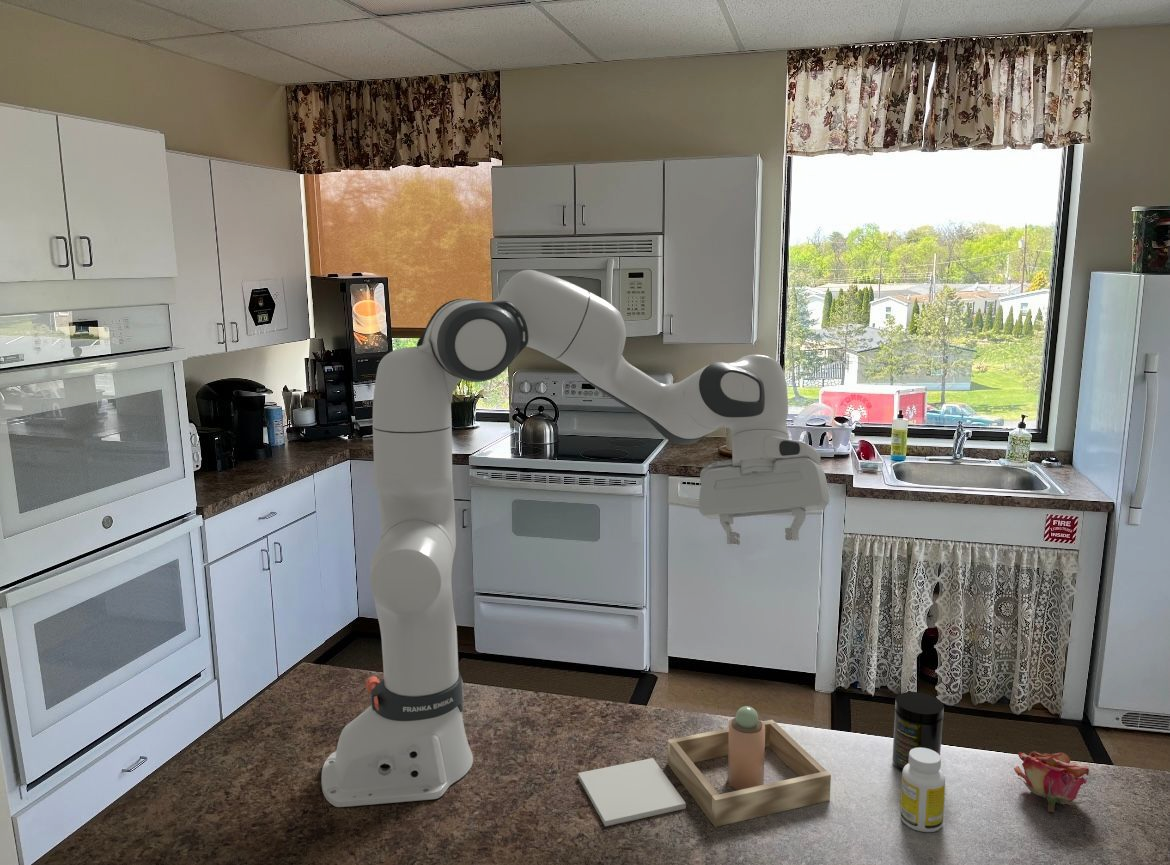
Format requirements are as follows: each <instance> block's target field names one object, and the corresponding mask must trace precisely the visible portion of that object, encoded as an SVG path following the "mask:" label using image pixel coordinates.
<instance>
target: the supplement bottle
mask: <svg viewBox="0 0 1170 865" xmlns="http://www.w3.org/2000/svg"><path fill="white" fill-rule="evenodd" d="M941 763H942V758H941V754H940V755H939V754H938V753H937V752H935V751H933V750H931V749H927V748H913V749H911V750H910V752H909V763H908V764H907V765H905V767H904V768H903V772H902V774H901V776H902V777H901V793H900V795H901V796H900V811H899V812H900V813H899V814H900V819H901V821H902V823H904V824H905V825H906V826H907V827H909V828H910V829H912V830H914V831H918V832H923V833H933V832H937V831H939V830H940V829H941V828H942V826H943V822H944V810H945V808H944V807H945V795H946V794H945V793H946V792H945V791H946V777H945V774H944V772H943V771H942V769H941V766H942V764H941Z"/></svg>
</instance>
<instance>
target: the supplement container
mask: <svg viewBox="0 0 1170 865" xmlns="http://www.w3.org/2000/svg"><path fill="white" fill-rule="evenodd" d="M894 703H895V704H894V705H895V706H894V723H893V725H894V726H893V741H892V742H893V744H892V763H893V764H894V766H895V767H896V768H897V769H898V770H899V771H900V772H902V773H903V768H904V767H905V765H907V764H908V763H909V752H910V750H911V749H913V748H927V749H931V750H933V751H935V752H937V753H938V754H939V755H940V756H941V751H942V750H941V748H942V736H943V735H942V733H943V720H944V709H945V706H944V703H943V702H942V700H940V699H938V698H937V697H935V696H933V695H930V694H927V693H924V692H919V691H918V692H917V691H907V692H906V691H905V692H902V693H899V694H898V695H896V697H895V702H894Z"/></svg>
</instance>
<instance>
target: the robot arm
mask: <svg viewBox="0 0 1170 865" xmlns="http://www.w3.org/2000/svg"><path fill="white" fill-rule="evenodd" d="M626 338H627V328H626V324H625V321H624V319H623V315H622V314H621V311H619V310H618V309H617V308H616V307H615V306H614V305H612V304H611V303H610V302H608V301H607V300H605V299H604V298H602V297H600V296H598V295H597V294H595V293H593V292H591V291H588V290H587V289H585V288H583V287H580V286H579V285H577V284H574V283H572V282H569V281H568V280H565V279H562V278H559V277H557V276H553V275H550V274H548V273H545V272H541V271H538V270H534V269H523V270H521V271H518V272H516V273H515V274H514V275H513V276H511V277H510V278H509V279H508V280H507V281H506V283H505V284H504V285H503V287H502V289H501V292H500V294H499V295H498V296H497V297H496V298H495V299H494V300H492V301H483V300H479V299H475V298H457V299H452V300H449V301H447V302H445V303H444V304H442V305H440V307H438V308H437V310H436V311H434V313H433V314H432V315H431V317H430V319H429V320H428V323H427V324H426V326H425V328H424V330H423V332H422V334H421V335H420V337H419V339H418V340H417V343H416V346H407V347H401V348H397V349H394V350H392V351H390V352H389V353H387V354H385V355H384V356H383V357H382V358H381V360H380V362H379V363H378V367H377V369H376V376H375V382H374V390H373V399H372V400H373V401H372V444H373V445H372V447H373V448H372V449H373V450H372V451H373V475H374V476H373V477H374V478H373V479H374V485H375V488H376V491H377V492H376V493H377V496H378V503H379V510H380V521H381V533H380V534H381V535H380V539H379V543H378V545H377V547H376V548H375V551H374V553H373V555H372V558H371V561H370V566H369V567H370V569H369V570H370V571H369V575H370V576H369V577H370V585H371V586H370V587H371V591H372V594H373V600H374V606H375V610H376V611H375V612H376V617H377V620H378V624H379V630H380V638H381V653H382V666H383V667H382V668H383V679H382V680H380V679H379V678H378V677H377V676H376V675H375V676H374V675H373V676H369V677H367V679H366V682H365V685H366V690H367V692H368V693H369V694H370V702H371V704H370V706H369V707H367V708H366V709H365V710H364V711H363V712H361V713H360V714H359V715H358V716H356V717H355V718H354V719H352V721H349V722H348V723H347V724H346V725H345V727H343V729H342V730H341V733H340V734H339V738H338V742H337V746H336V750H335V751H334V752H331V754H329V756H328V757H327V758H326V760H325V761H324V764H322V765H323V766H322V769H321V790H322V794H323V796H324V798H325V799H326V801H327V802H329V804H331V805H332V806H334V807H335V808H345V807H357V806H358V807H359V806H368V805H370V806H371V805H380V804H381V805H383V804H392V803H404V802H406V803H407V802H415V801H416V802H417V801H428V800H436V799H440V798H441V797H442V796H443V795H445V793H446V791H447V790H448V789H449V787H450V786H451V785H453V784H454V783H456V782H457V781H460V780H461V779H462V778H463V777H464V776H465V775H466V774H467V773H468V772H469V771H470V770H471V768H472V766H473V763H474V755H473V753H472V750H471V748H470V745H469V742H468V738H467V733H466V730H465V724H464V719H463V709H464V708H463V707H464V686H463V685H464V682H463V678H462V675H461V672H460V671H459V653H458V652H459V650H458V631H457V629H458V628H457V627H458V626H457V623H456V622H457V621H456V616H455V609H454V599H453V598H454V597H453V588H452V585H453V584H452V572H453V565H454V563H453V562H454V558H455V552H456V548H457V547H456V546H457V532H456V530H457V529H456V510H455V496H454V483H453V434H452V432H453V431H452V430H453V429H452V426H453V424H452V420H453V418H452V401H453V396H454V395H453V394H454V391H455V389H456V388H457V385H458V384H459V383H460V382H461V381H467V382H470V383H472V382H473V383H480V382H487V381H490V380H493V379H495V378H497V377H498V376H500V375H501V374H502V373H503V372H505V371H506V370H507V369H508V367H509V366H510V365H511V364H512V363H513V362H514V360H515V359H516V358H517V357H518V356H519V355H520V354H521V352H523V350H524V349H525V348H526V347H527V348H530V349H532V350H536V351H538V352H540V353H543V354H544V355H546V356H549V357H550V358H553V359H555V360H556V361H558V362H559V363H562V364H564V365H566V366H568V367H570V368H571V369H572V370H574V371H575V372H577V373H579V375H580V376H581V377H582V379H583V380H584V381H585V382H587V383H588V384H589V385H590V386H592V387H593V388H595V389H596V390H598V391H599V392H601V393H603V394H604V395H606V396H607V397H610V398H611V399H613V400H614V401H616V402H617V403H619V404H620V405H623V406H624V407H626V408H627V409H629V410H631V411H633V412H634V413H635V414H637V415H639V416H640V417H642V418H643V419H645V420H646V421H647V422H648V423H649V424H651V426H653V428H654V429H656V431H658V432H659V434H660V435H661V436H662V437H664V438H665V439H666V440H668V441H670V442H671V443H673V444H677V445H681V446H689V445H693V444H695V443H697V442H698V441H700V440H701V439H704V438H705V437H706V436H708V435H709V434H712V433H713V432H716V431H717V430H719V429H721V428H727V429H729V430H731V432H732V434H731V436H732V438H731V441H732V443H731V444H732V445H731V446H732V449H731V450H732V451H731V452H732V453H731V454H732V455H731V456H732V458H731V459H726V460H721V461H711V462H709V463H707V465H706V466H703V468H702V469H701V471H700V473H699V477H700V478H699V483H700V490H699V494H698V496H699V497H698V498H699V499H698V511H699V513H700V514H701V516H703V517H705V519H708V520H719V523H720V525H721V526H722V528H723V530H724V531H725V533H726V543H727V545H728V546H731V547H732V546H740V545H741V540H740V539H741V534H740V533H738V532H736V531H734V530H733V528H732V525H733V524H734V519H735V518H742V517H743V518H744V517H753V516H754V517H755V516H756V517H757V516H767V515H776V514H777V515H778V514H788V513H791V516H792V517H794V519H793V521H792V523H791V524H790V527H785V528H784V529H785V530H784V531H785V532H784V533H785V535H784V536H785V540H786V541H787V542H798V541H799V539H800V536H799V530H800V529H801V527H802V526H803V524H804V522H805V520H806V512H810V511H811V512H812V511H824V510H825V509H826V507H827V506H828V504H829V502H830V496H829V488H828V482H827V481H828V480H827V476H826V473H825V470H824V469H823V468H822V467H821V466H819V465H820V463H821V455H820V453H819V451H817V449H815V448H814V447H813V446H811V445H810V444H809V443H806V442H804V441H800V440H795V439H790V434H789V431H788V428H787V418H788V416H789V401H788V400H789V399H788V398H789V397H788V386H787V379H786V376H785V372H784V370H783V368H782V365H781V364H780V362H778V360H776V359H774V358H772V357H769V356H767V355H762V354H748V355H747V354H746V355H743V356H742V357H740V358H739V359H737V360H735V361H733V362H732V361H731V362H723V361H718V362H713V363H710V364H708V365H706V366H704V367H702V368H700V369H699V370H697V371H695V372H694V373H692V374H691V375H689V376H687V377H685V378H684V379H683V380H681V381H678V382H675V383H661V382H660V381H658V380H656V379H654V378H653V377H652V376H649V375H648V374H647V373H645V372H644V371H642V370H640V369H638V368H637V367H635V366H634V365H633V364H631V363H629V362H628V361H627V360H626V359H625V357H624V356H623V352H624V349H625V344H626Z"/></svg>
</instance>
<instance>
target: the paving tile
mask: <svg viewBox="0 0 1170 865" xmlns="http://www.w3.org/2000/svg"><path fill="white" fill-rule="evenodd" d="M577 775H578V776H577V778H578V781H579V782H580V784H581V786H582V787H583V789H584V791H585V793H586V795H587V796H588V798H589V800H590V801H591V804H592V805H593V807H594V809H595V811H596V813H597V815H598V816H599V818H600V820H601V822H602V823H603V825H604V827H610V826H613V825H619V824H622V823H627V822H632V821H636V820H640V819H644V818H648V817H653V816H658V815H663V814H667V813H672V812H675V811H680V810H685V809H687V802H686V801H685V800H684V799H683V797H682V796H681V795H680V793H679V792H678V790H677V789H676V788H675V786H674V785H673V783H672V782H671V781H670V780H669V778H668V776H667V775H666V774H665V773H664V771H663V770H662V768H661V767H660V765H659V764H658V762H656V760H655V759H654V758H653V757H650V758H646V759H640V760H636V761H631V762H627V763H626V762H625V763H621V764H617V765H611V766H610V765H609V766H606V767H599V768H597V769H596V768H595V769H591V770H587V771H586V770H585V771H582V772H581V771H579V772H578V773H577Z"/></svg>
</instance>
